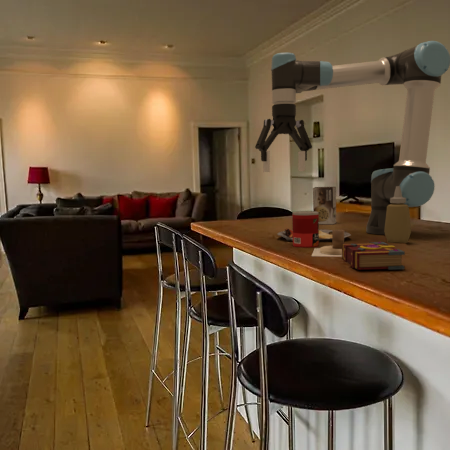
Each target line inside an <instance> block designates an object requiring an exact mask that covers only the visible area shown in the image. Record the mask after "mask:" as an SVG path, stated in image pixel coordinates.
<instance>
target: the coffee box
mask: <svg viewBox="0 0 450 450" xmlns="http://www.w3.org/2000/svg"><path fill="white" fill-rule="evenodd" d="M336 189H337V187H336V186H315V187H312V211H316V212H318V214H319V225H335V224H337V190H336Z"/></svg>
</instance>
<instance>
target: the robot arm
mask: <svg viewBox="0 0 450 450" xmlns="http://www.w3.org/2000/svg"><path fill="white" fill-rule="evenodd" d="M449 68H450V52H449V50H448V49H447V48H446V46H445V45H444V44H443V43H441V42H440V41H436V40H428V41H424V42H420V43H419V44H418V45H414V46H412V47H411V48H408V49H405V50H403V51H401V52H399V53H396V54H393V55H390V56H384V57H380V58H379V59H378V60H375V61H374V60H373V61H365V62H363V61H362V62H355V63H353V62H352V63H345V64H339V65H338V64H336V65H333V64H332V63H331V62H330V61H325V60H319V61H318V60H297V58H296V54H295V53H293V52H278V53H275V54H273V56H272V57H271V69H270V71H271V103H272V104H273V105H271V116H272V119H271V118H266V119H264V120H263V127H262V129H261V132H260V134H259V137H258V139H257V141H256V144H255V147H254V148H255V149H256V150H258V151H259V152H260V162H262V169H263V170H262V171H263V173H270V172H271V167H270V166H271V165H270V164H271V159H270V157H271V156H270V155H271V154H270V150H269V148H270V147H271V145H272V144H273V142H274V141H275V139H276V138H277V137H278V136H279V135H288V136H290V137H291V139H292V140H293V141H294V143H295V144H296V146H297V147H298V149H299V151H298V152H297V153H298V155H297V157H298V158H297V159H298V166H297V167H298V170H297V171H298V172H306V161H307V159H308V151H309V150H311V149H312V148H313V145H312V143H311V140H310V138H309V135H308V133H307V130H306V128H305V121H304V120H303V119H299V120H296V116H297V106H296V102H297V94H301V93H303V92H310V91H311V92H313V91H316V90H325V89H336V88H345V87H346V88H347V87H353V86H363V85H373V84H379V85H380V86H390V85H391V86H392V85H403V86H404V87H405V88H406V100H405V108H404V116H403V125H402V134H401V139H400V140H401V141H400V151H399V158H398V161H397V162H395V163H394V164H393V167H392V168H383V169H381V168H380V169H377V170H374V171H373V172H372V174H371V178H370V179H371V180H370V184H371V185H370V186H371V188H370V189H371V190H370V193H371V194H370V195H371V197H370V198H371V200H370V201H371V202H370V203H371V206H370V209H371V210H370V214H369V217H368V221H367V223H366V227H365V228H366V229H365V230H366V233H368V234H371V235H372V234H374V235H385V232H384V229H385V220H386V211H387V206H388V205H390V204H392V203H390V198H393V197H394V193H395V189H396V186H400V188H401V193H402V197H403V198H406V203H404V204H406V205H408V206H409V208H414V207H416V208H417V207H421V206H424V205H425V204H427V202H429V200H431V198H432V197H433V195H434V192H435V187H436V185H435V181H434V179H433V178H432V176H431V175H430V172H431V171H430V170H431V167H430V166H429V165H428V164H427V157H428V147H429V139H430V131H431V125H432V123H431V122H432V117H433V108H434V107H433V105H434V100H435V99H434V98H435V91H436V90H437V89H438V88H439V87H440V86H441V83H442V76H443V75H444V74H445V73H446V72H447V71H448V70H449ZM271 127H273V128H272V130H271ZM270 130H271V132H270ZM269 133H270V134H269ZM268 134H269V135H268ZM385 236H386V235H385Z"/></svg>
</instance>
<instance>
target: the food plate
mask: <svg viewBox="0 0 450 450" xmlns="http://www.w3.org/2000/svg"><path fill="white" fill-rule="evenodd" d="M332 230H333V229H319V243H325V242H332ZM276 235H277V236H280V237H283V239H285V240H286V241H289V242H293V229H289V228H286V229H284V230H282V231H278V232H277V233H276ZM350 236H352V234H350V232H349V231H345V230H344V238H347V237H350Z"/></svg>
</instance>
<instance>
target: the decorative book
mask: <svg viewBox="0 0 450 450" xmlns="http://www.w3.org/2000/svg"><path fill="white" fill-rule="evenodd" d="M405 254H406V253H405V251H404V250H402V249H399V248H396V246H395V245H389V243H388V242H387V243H386V242H384V241H373V242H371V241H370V242H365V243H362V242H360V243H359V242H358V243H344V244H342V257H341V259H342V260H343V261H344V262H345V263H348V264H349V265H350V268H352V269H356V270H357V271H358V270H360V271H361V270H405V265H403V264H402V260H403V259H402V257H403V256H404V255H405Z"/></svg>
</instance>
